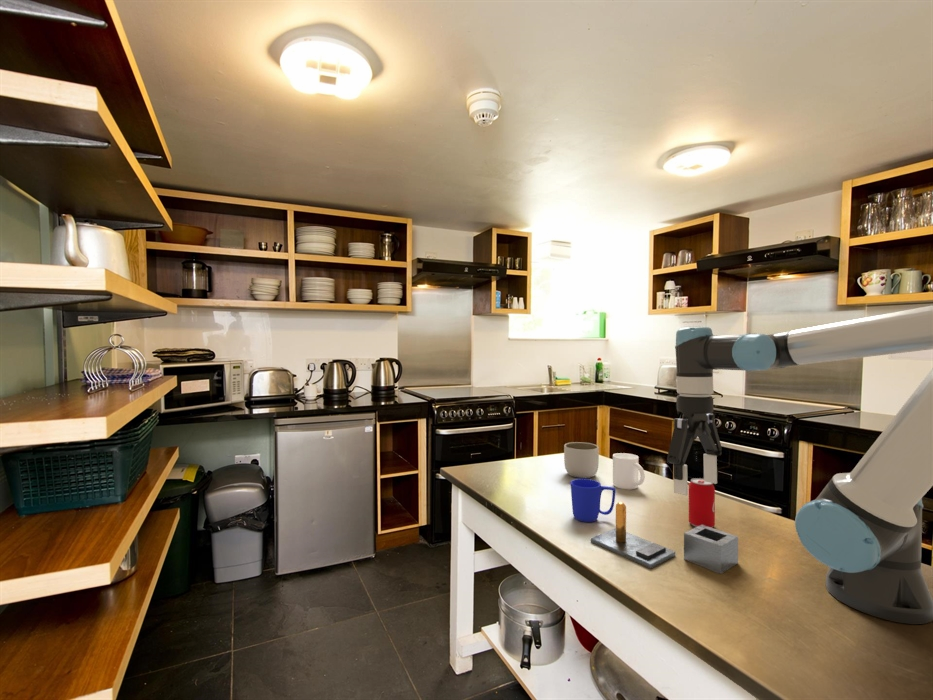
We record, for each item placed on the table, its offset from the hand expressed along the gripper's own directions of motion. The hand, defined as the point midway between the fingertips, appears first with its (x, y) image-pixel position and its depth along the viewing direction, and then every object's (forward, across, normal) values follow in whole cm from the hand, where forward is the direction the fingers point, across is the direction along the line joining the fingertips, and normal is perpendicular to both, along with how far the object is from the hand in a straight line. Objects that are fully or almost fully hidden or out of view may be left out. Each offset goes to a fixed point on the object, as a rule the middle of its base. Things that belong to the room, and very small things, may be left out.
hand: (696, 487), depth 102 cm
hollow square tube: (+16, -1, +3) cm, 16 cm away
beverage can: (+16, -19, -8) cm, 26 cm away
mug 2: (+15, -31, -38) cm, 51 cm away
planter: (+15, -29, -57) cm, 66 cm away
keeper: (+16, +8, -11) cm, 21 cm away
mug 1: (+15, +1, -28) cm, 32 cm away
